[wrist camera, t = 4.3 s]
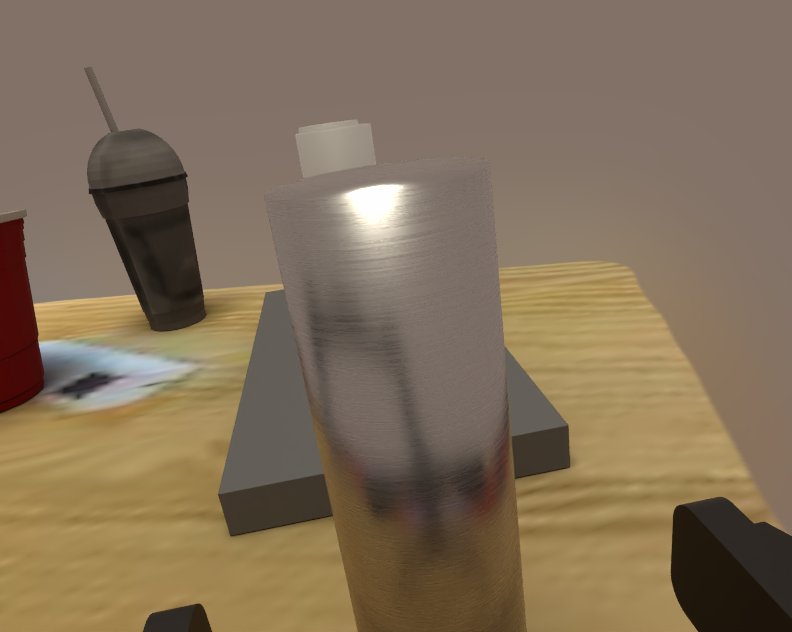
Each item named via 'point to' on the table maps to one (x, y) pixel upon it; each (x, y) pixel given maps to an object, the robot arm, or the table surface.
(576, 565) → the table surface
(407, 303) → the steel pin
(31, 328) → the plastic cup
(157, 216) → the beverage cup
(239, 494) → the pin board
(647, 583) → the table surface
